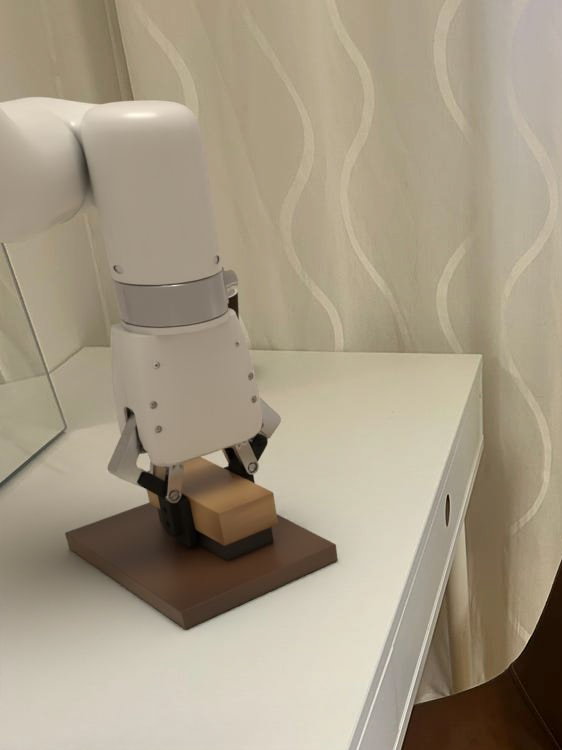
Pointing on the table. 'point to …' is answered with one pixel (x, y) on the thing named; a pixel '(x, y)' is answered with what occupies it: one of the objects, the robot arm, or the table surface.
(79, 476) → the table surface
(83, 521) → the table surface
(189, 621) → the board
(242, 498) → the brush
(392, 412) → the table surface
